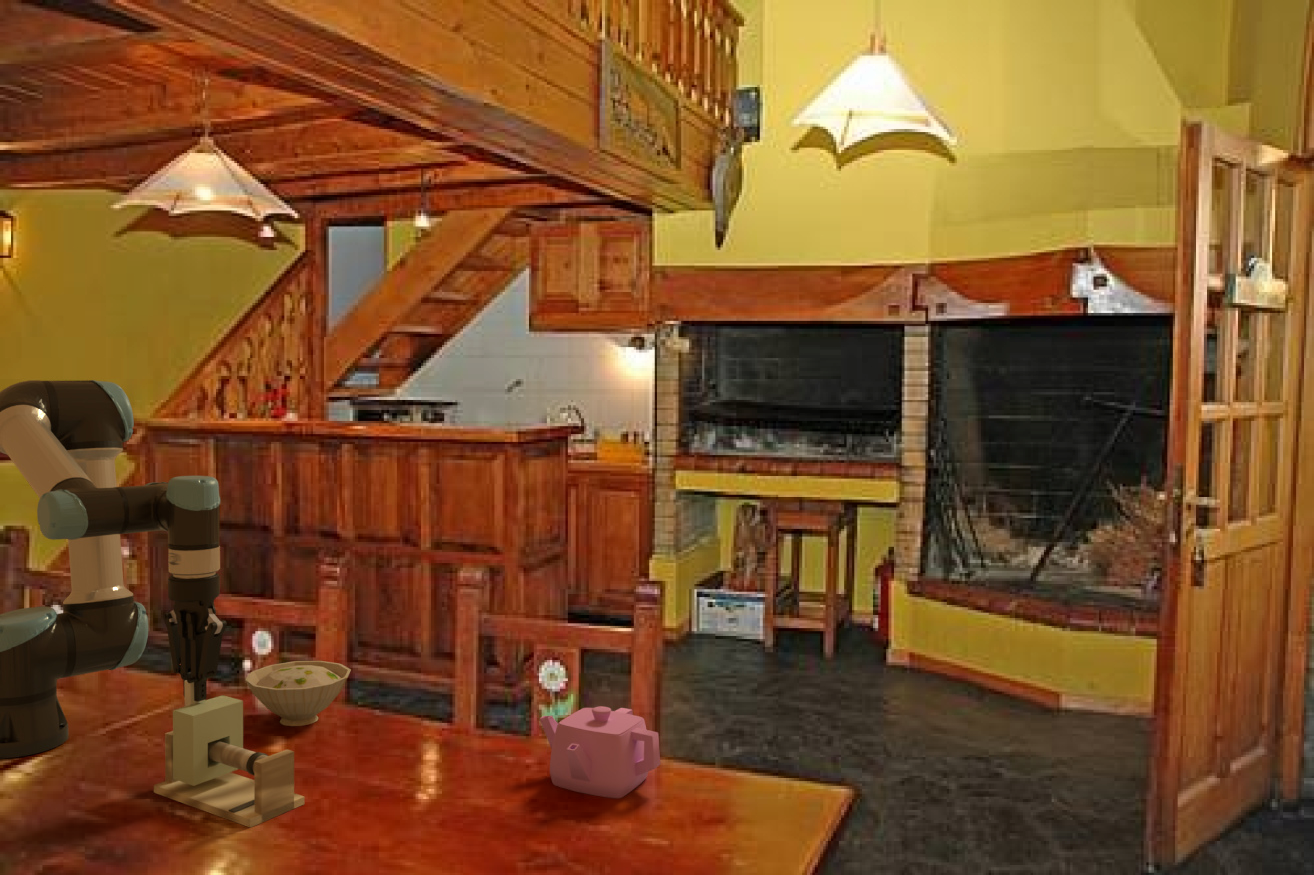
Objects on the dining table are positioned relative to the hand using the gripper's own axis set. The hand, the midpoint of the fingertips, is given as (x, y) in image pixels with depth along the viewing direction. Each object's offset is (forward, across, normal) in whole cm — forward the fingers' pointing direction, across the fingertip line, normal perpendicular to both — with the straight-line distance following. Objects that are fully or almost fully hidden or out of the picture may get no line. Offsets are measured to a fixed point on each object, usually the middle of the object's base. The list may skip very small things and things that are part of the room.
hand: (195, 719), depth 167 cm
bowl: (+11, -12, +31) cm, 35 cm away
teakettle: (+12, +52, +38) cm, 65 cm away
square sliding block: (+8, +3, 0) cm, 9 cm away
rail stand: (+11, +8, 0) cm, 14 cm away
